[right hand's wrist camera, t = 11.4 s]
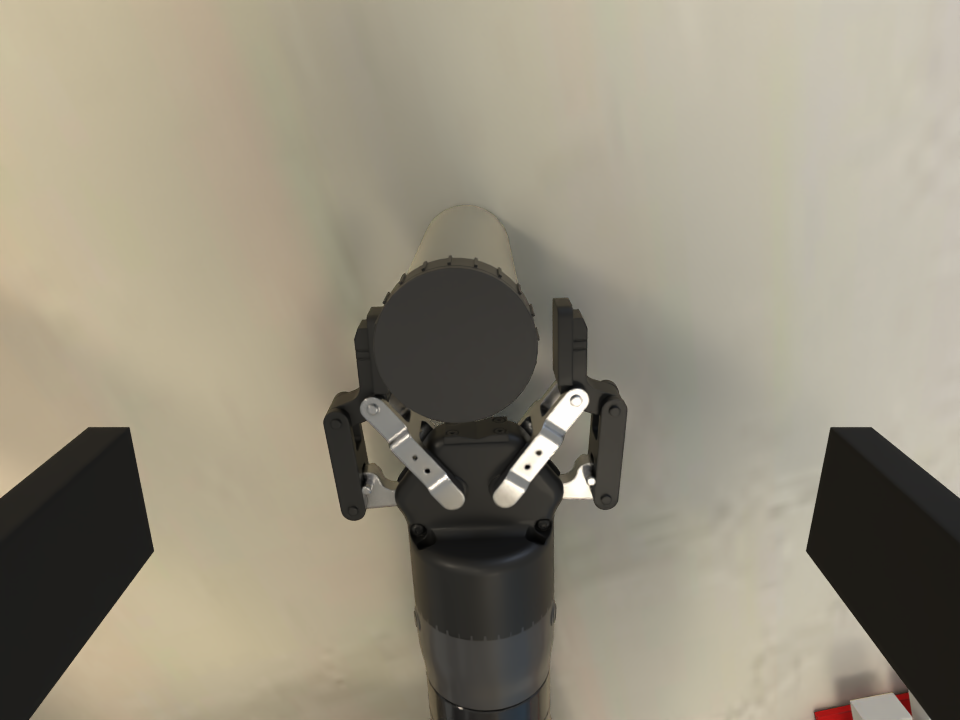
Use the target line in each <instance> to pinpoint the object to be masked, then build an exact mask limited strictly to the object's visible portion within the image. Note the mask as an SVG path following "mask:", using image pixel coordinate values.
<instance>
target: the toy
mask: <svg viewBox="0 0 960 720" xmlns="http://www.w3.org/2000/svg"><path fill="white" fill-rule="evenodd" d="M850 704H851V705H846V706H842V707H837V708H832V709H827V710H823V711H818V712H814V713H815V718H816V720H931V719H930V718H929V716H928V715H927V714H926V712H925V711H924V710H923V708H922V707H921V705H920V704H919V703H918V701H917V700H916V699H915V697H914V696H913V695H912V693H911V692H910V691H909V689H908V693H903V694H898V695H894V693H893V692H891V693H886V694H881V695H876V696H870V697H865V698H860V699H854V700H850Z"/></svg>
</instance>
